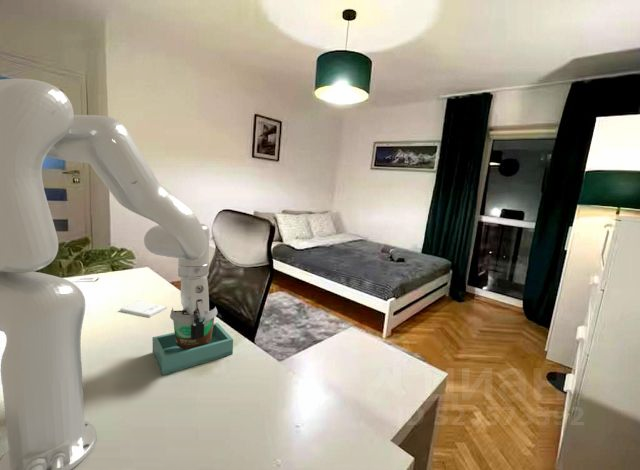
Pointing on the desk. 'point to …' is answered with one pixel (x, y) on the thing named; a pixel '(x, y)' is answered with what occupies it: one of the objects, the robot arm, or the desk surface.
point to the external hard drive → (143, 309)
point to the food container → (184, 328)
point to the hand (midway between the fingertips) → (192, 331)
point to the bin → (190, 351)
